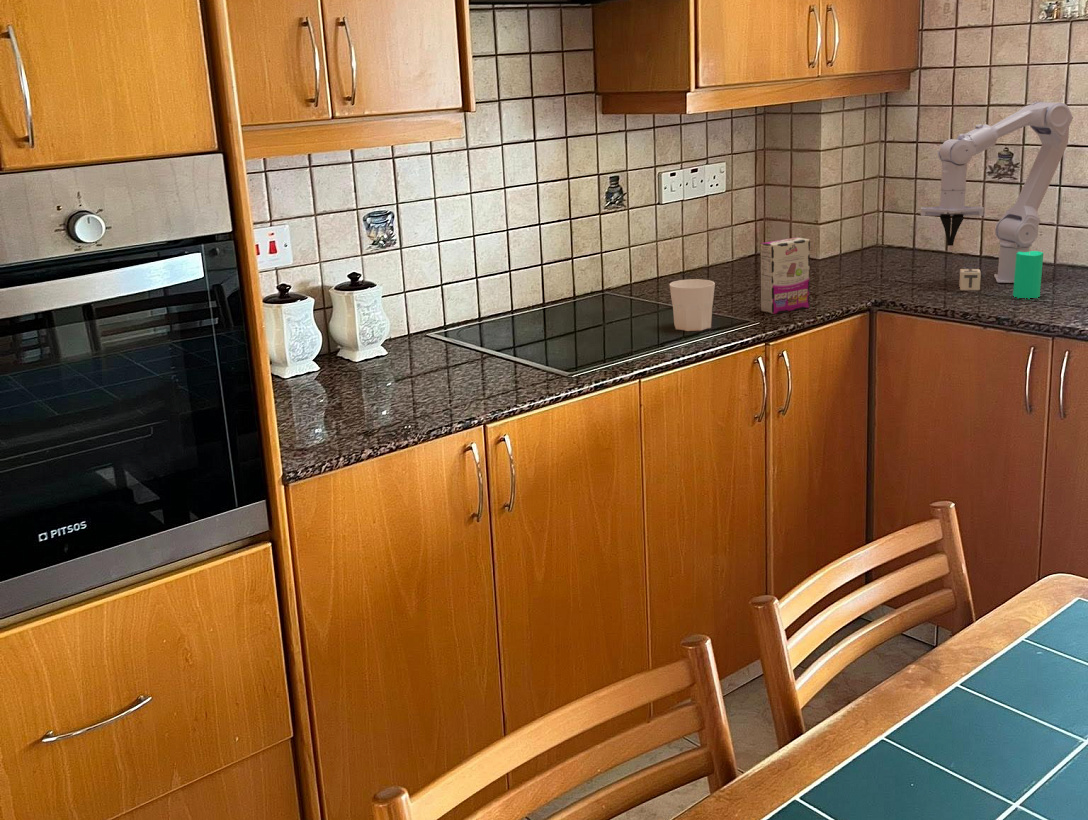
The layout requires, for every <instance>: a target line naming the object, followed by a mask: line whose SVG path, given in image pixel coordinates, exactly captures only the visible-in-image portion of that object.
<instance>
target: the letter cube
mask: <svg viewBox="0 0 1088 820" xmlns="http://www.w3.org/2000/svg"><path fill="white" fill-rule="evenodd" d="M981 275H982V272H981V270H980V268H960V269H959V282H958V284H959V286H958V287H960V288H959V290H960V291H980V290H981Z"/></svg>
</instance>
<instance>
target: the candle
mask: <svg viewBox="0 0 1088 820" xmlns="http://www.w3.org/2000/svg"><path fill="white" fill-rule="evenodd" d="M1030 249H1031V246H1030ZM1043 263H1044V252H1043V251H1038V250H1030V251H1029V252H1018V253H1016V262H1015V275H1014V283H1013V289H1012V297H1013V296H1014V297H1013V298H1015V297H1017V298H1016V299H1019V298H1025V299H1024V300H1031V299H1030V298H1037V299H1039V298H1038V297H1041V289H1042V288H1041V286H1042V274H1043ZM1026 298H1028V299H1026Z"/></svg>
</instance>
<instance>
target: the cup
mask: <svg viewBox="0 0 1088 820" xmlns="http://www.w3.org/2000/svg"><path fill="white" fill-rule="evenodd" d="M715 284H716V283H715V282H714V280H709V279H695V278H693V279H679V280H674V281H672V282H670V283H669V291H670V297H671V304H672V310H673V311H672V313H673V323H674V325H673V326H674V327H675V330H681V331H685V332H690V331H691V332H692V331H694V332H695V331H698V332H699V331H700V332H701V331H703V330H706V329H712V318H713V317H712V315H713V304H714V295H715V286H716V285H715Z"/></svg>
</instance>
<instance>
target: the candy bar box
mask: <svg viewBox="0 0 1088 820" xmlns="http://www.w3.org/2000/svg"><path fill="white" fill-rule="evenodd" d="M810 244H811V239H810V238H803V237H797V236H796V237H792V238H786V239H778V240H774V241H773V240H772V241H767V242H761V243H760V246H759V247H760V311H761V312H763V313H767V314H771V315H777V314H781V313H786V312H792V311H797V310H802V309H803V310H804V309H808V308H810V296H811V295H810V289H811V288H810V286H811V284H810V281H811V279H810V275H811V274H810V270H811V269H810V268H811V267H810V263H811V261H810V260H811V256H810V255H811V252H810V251H811V249H810V248H811V245H810Z"/></svg>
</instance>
